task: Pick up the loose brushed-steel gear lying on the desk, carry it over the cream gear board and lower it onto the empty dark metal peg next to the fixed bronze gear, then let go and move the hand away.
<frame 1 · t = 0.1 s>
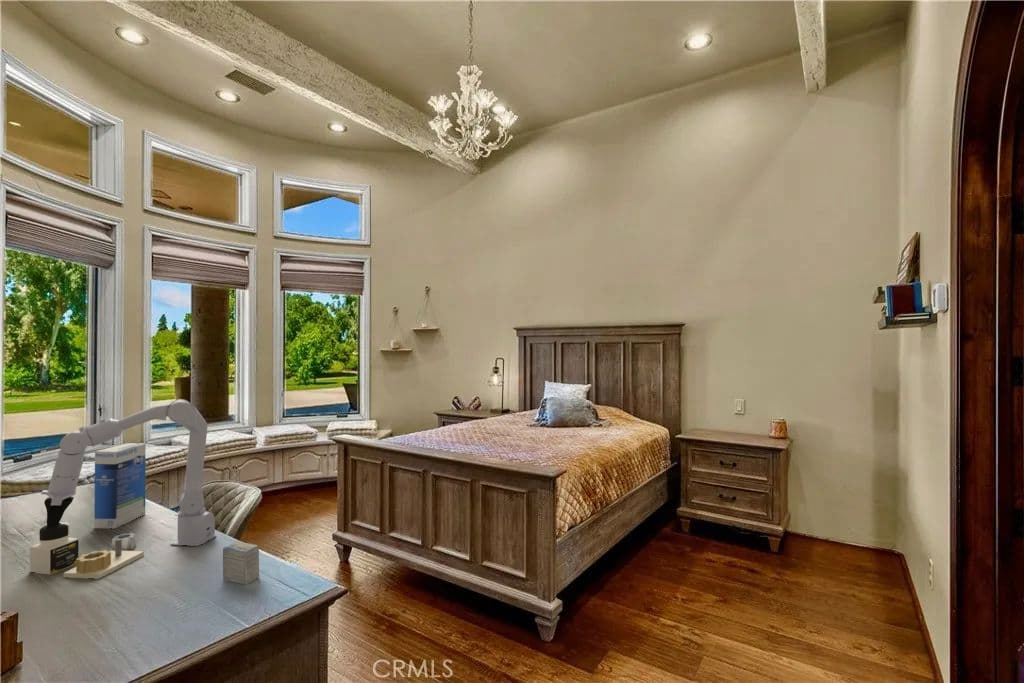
hand: (52, 525, 132), 12 cm above the table, tool pointing down, fingers closed, pressing on medicine bottle
gear board: (105, 565, 134), on the table
medicine bottle: (54, 569, 133), on the table, touching gripper
steel gear: (123, 548, 145), on the table
string lights box: (121, 522, 167), on the table
beige wooden block: (241, 580, 126), on the table
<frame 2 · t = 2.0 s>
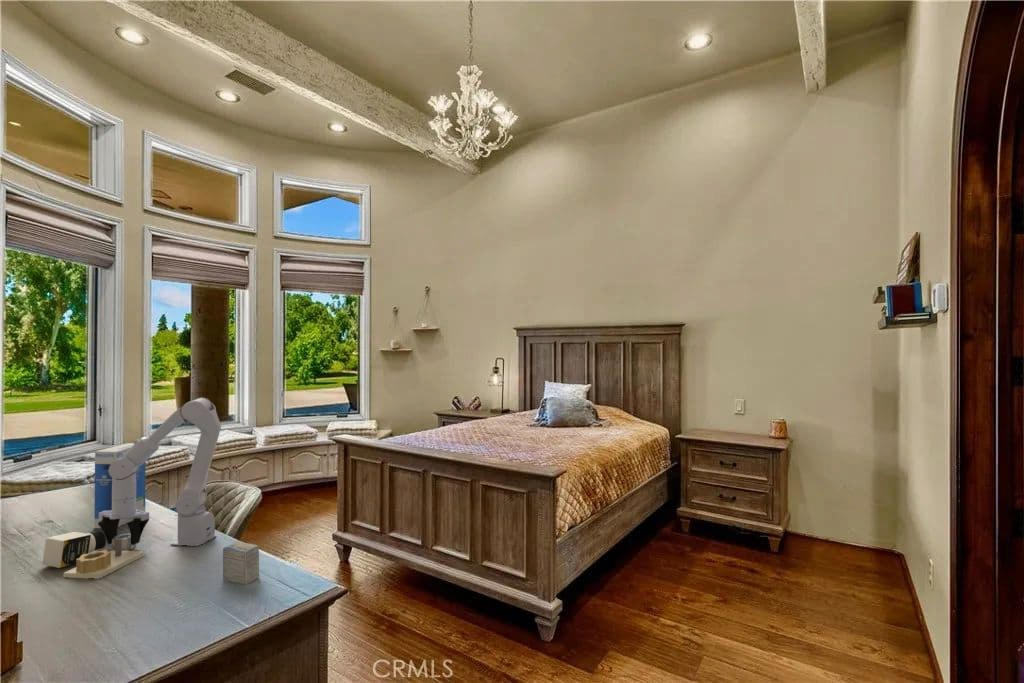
hand: (123, 543, 145), 2 cm above the table, tool pointing down, fingers open, 7 cm apart
medicine bottle: (51, 553, 132), point 4 cm above the table, touching gripper
everything else where it was.
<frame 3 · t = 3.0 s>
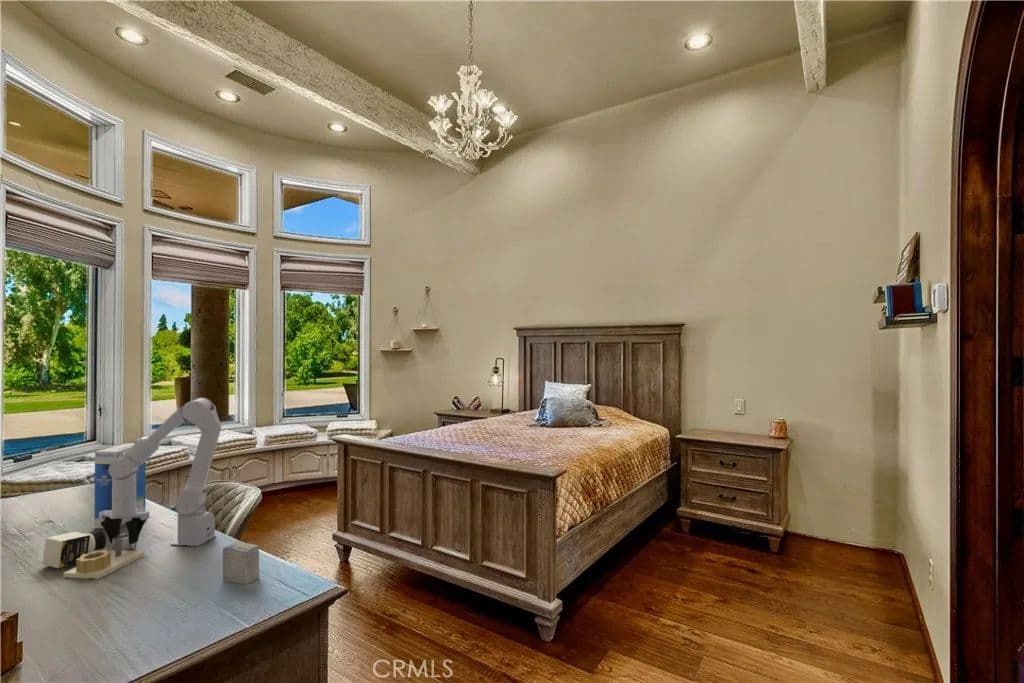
hand: (124, 542, 145), 2 cm above the table, tool pointing down, fingers closed on steel gear, 5 cm apart
medicine bottle: (50, 553, 132), point 4 cm above the table
steel gear: (124, 548, 145), on the table, touching gripper
everything else where it was.
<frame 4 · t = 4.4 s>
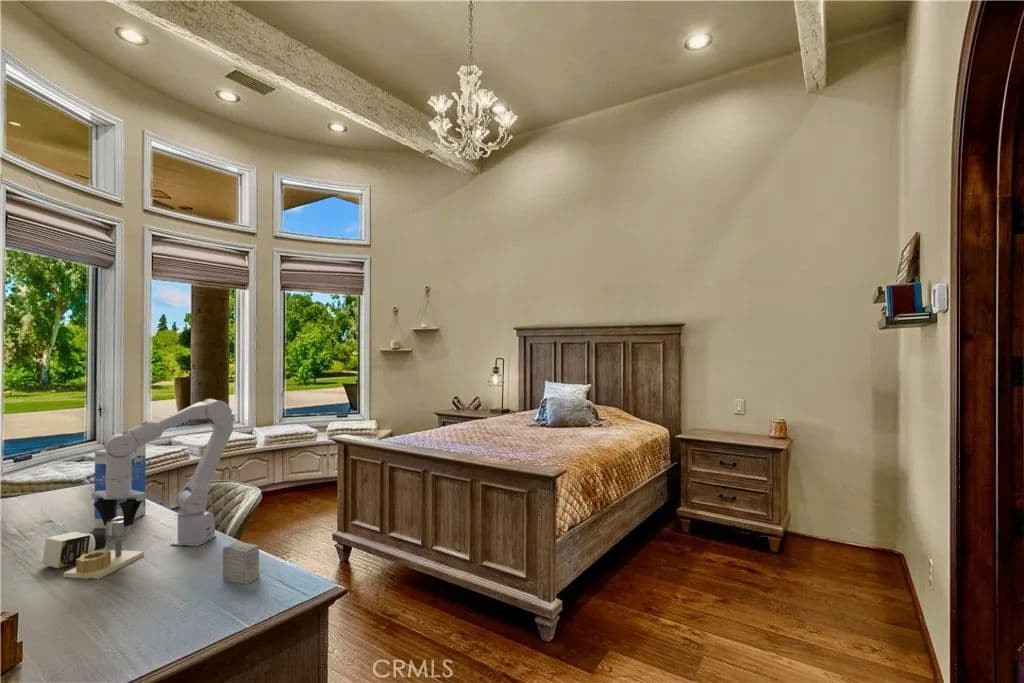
hand: (118, 524, 137), 10 cm above the table, tool pointing down, fingers closed on steel gear, 6 cm apart
steel gear: (118, 532, 138), point 8 cm above the table, touching gripper
everything else where it was.
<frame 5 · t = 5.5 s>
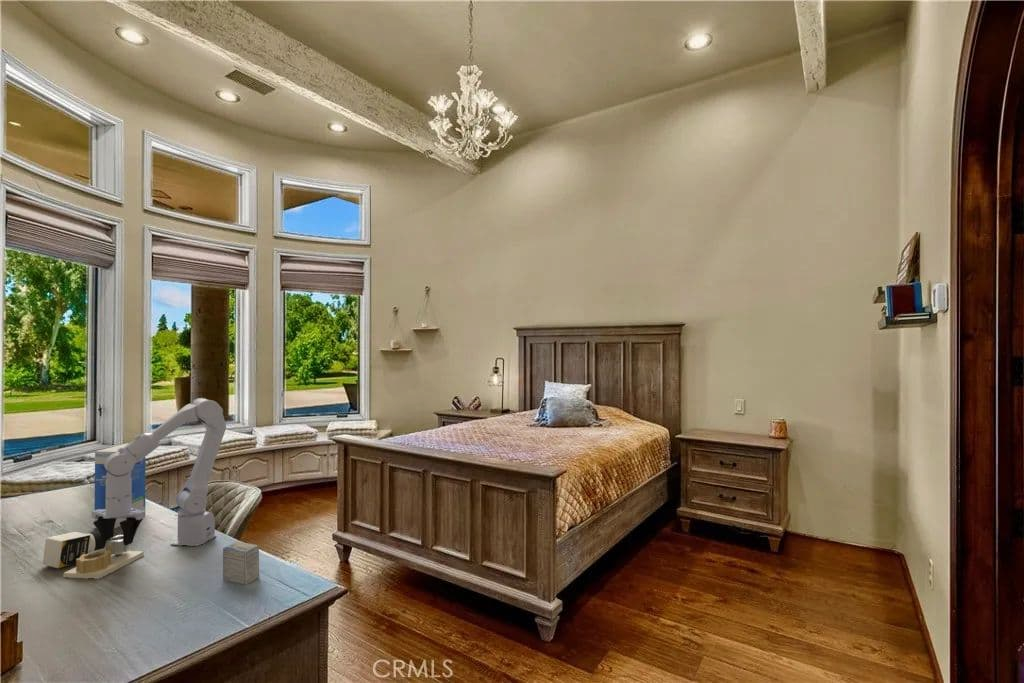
hand: (118, 543, 137), 5 cm above the table, tool pointing down, fingers closed on steel gear, 6 cm apart
steel gear: (118, 550, 137), point 2 cm above the table, touching gripper
everything else where it was.
when the fingers open (4 cm above the table, at t = 6.2 s): steel gear stays where it is, resting on gear board.
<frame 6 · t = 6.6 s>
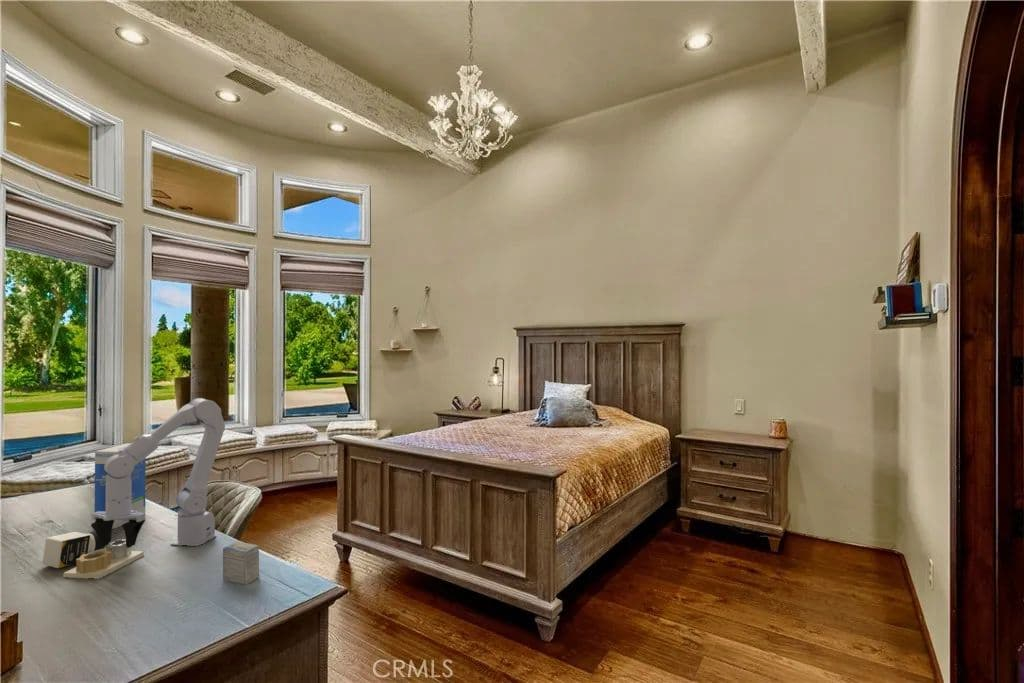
hand: (118, 545, 137), 4 cm above the table, tool pointing down, fingers open, 7 cm apart
steel gear: (118, 555, 137), point 1 cm above the table, touching gear board
everything else where it was.
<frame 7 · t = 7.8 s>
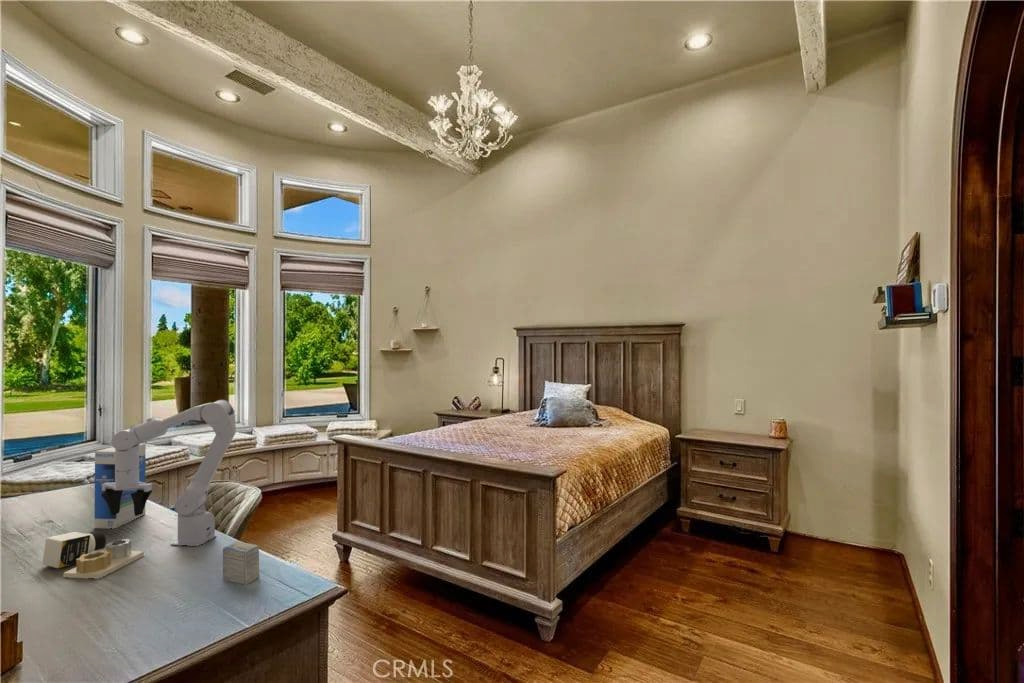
hand: (127, 514, 146), 10 cm above the table, tool pointing down, fingers open, 7 cm apart
nothing on the table moved.
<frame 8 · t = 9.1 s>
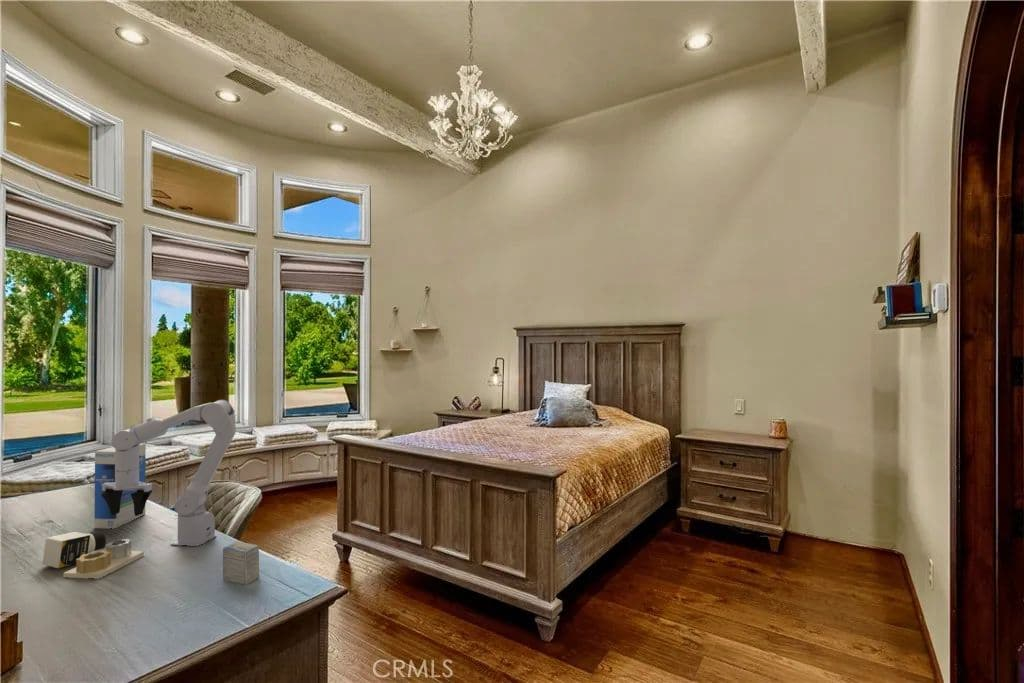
hand: (127, 514, 146), 10 cm above the table, tool pointing down, fingers open, 7 cm apart
nothing on the table moved.
at the end: steel gear 0.1 cm from the target spot on the gear board, point 1.2 cm above the gear board's base; steel gear tilted 0°; the gripper is holding nothing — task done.
